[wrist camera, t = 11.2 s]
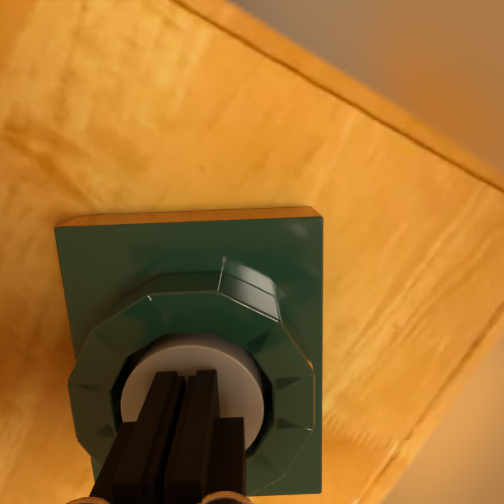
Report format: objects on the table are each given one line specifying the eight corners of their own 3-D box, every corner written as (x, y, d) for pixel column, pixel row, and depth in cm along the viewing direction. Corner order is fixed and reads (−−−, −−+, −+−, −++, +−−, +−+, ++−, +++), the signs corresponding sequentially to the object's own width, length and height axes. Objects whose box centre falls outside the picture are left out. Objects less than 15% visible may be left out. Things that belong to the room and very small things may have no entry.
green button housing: (81, 215, 14) (19, 240, 10) (312, 205, 14) (337, 227, 10) (116, 458, 17) (76, 552, 13) (312, 450, 17) (332, 542, 13)
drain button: (129, 321, 13) (111, 348, 11) (259, 316, 13) (262, 342, 11) (143, 433, 13) (128, 474, 12) (263, 428, 14) (266, 468, 12)
